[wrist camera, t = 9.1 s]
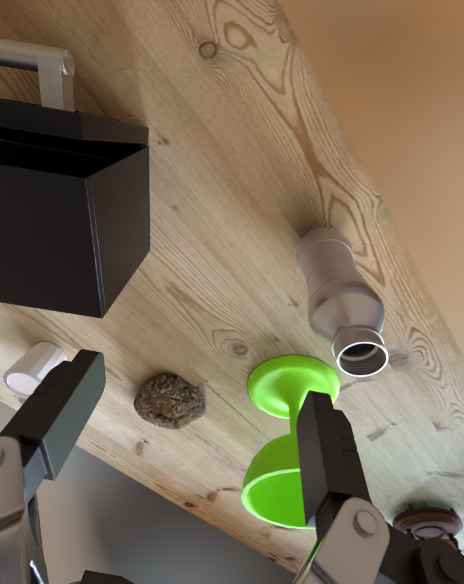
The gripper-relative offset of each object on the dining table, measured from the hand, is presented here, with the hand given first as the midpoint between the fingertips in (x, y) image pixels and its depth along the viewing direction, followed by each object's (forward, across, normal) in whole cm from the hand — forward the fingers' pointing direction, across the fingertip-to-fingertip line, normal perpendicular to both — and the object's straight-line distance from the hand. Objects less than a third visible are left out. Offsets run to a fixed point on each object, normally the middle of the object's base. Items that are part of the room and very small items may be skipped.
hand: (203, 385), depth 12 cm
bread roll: (+30, +7, +40) cm, 51 cm away
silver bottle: (+30, -11, +5) cm, 32 cm away
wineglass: (+30, -14, +32) cm, 46 cm away
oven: (+29, +19, +3) cm, 35 cm away
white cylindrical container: (+30, +29, +34) cm, 53 cm away
